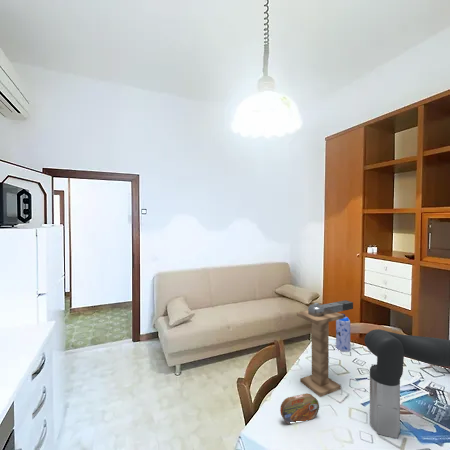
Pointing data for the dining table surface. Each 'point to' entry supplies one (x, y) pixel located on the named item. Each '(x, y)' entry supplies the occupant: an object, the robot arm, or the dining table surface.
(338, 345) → the aerosol can
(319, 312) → the ratchet
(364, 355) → the dining table surface
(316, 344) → the walnut stand
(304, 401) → the tin
